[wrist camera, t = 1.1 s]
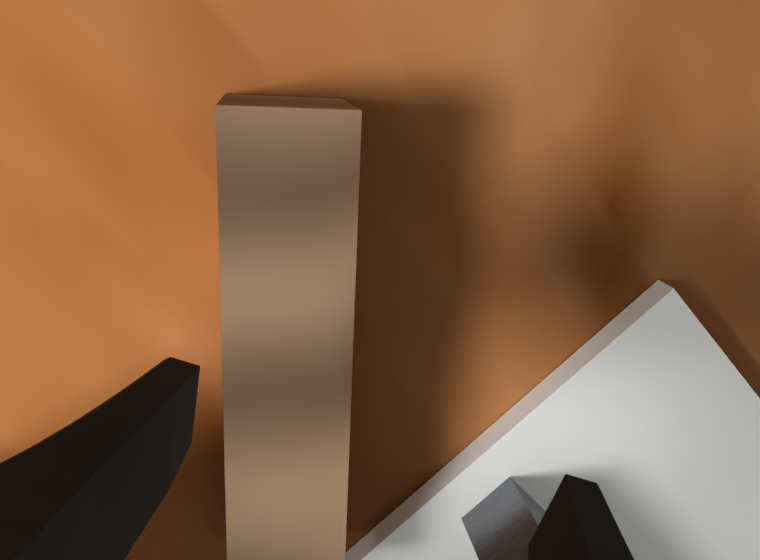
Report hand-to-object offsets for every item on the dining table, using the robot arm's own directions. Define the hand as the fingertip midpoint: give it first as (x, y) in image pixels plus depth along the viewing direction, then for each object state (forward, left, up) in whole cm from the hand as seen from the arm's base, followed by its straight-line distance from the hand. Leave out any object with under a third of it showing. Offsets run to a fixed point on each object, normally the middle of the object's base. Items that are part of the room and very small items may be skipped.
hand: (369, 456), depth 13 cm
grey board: (-1, -15, -11) cm, 18 cm away
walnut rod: (-2, 0, -11) cm, 11 cm away
